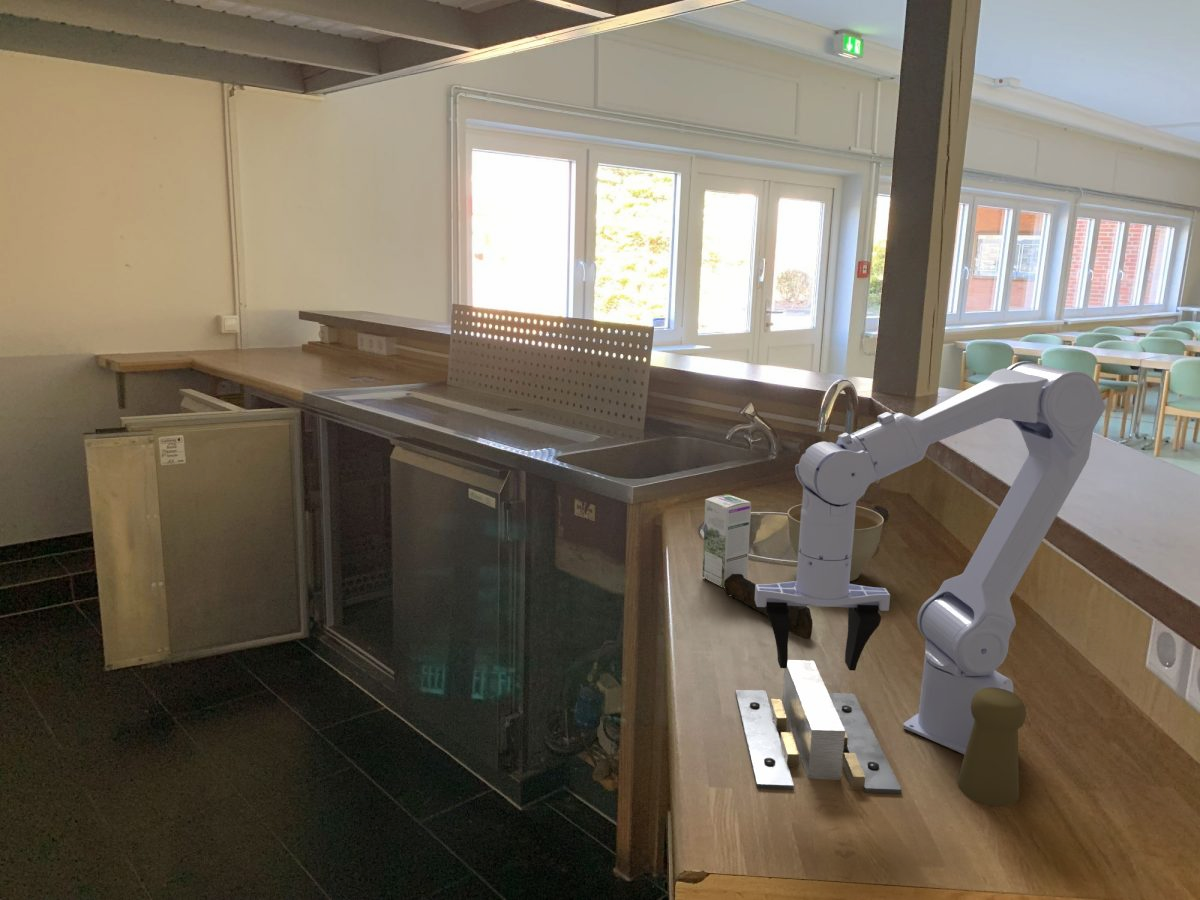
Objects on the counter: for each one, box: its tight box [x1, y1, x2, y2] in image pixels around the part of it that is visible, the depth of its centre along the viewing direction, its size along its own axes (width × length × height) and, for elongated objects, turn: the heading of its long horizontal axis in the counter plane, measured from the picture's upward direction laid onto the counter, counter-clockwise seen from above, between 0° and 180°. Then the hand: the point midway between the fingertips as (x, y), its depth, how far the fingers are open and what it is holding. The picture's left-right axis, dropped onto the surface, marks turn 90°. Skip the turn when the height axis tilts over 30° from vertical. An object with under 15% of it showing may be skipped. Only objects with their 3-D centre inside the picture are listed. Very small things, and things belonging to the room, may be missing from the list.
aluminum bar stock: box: [781, 659, 845, 781], centre depth 99 cm, size 4×16×6 cm, turn 178°
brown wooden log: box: [724, 574, 813, 639], centre depth 133 cm, size 19×4×5 cm, turn 26°
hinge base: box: [735, 689, 903, 795], centre depth 100 cm, size 15×20×2 cm
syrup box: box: [701, 494, 752, 588], centre depth 146 cm, size 6×6×14 cm
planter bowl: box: [786, 503, 885, 582], centre depth 151 cm, size 16×16×11 cm
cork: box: [956, 687, 1027, 807], centre depth 90 cm, size 6×6×11 cm
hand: (816, 665), depth 98 cm, fingers open, 7 cm apart
